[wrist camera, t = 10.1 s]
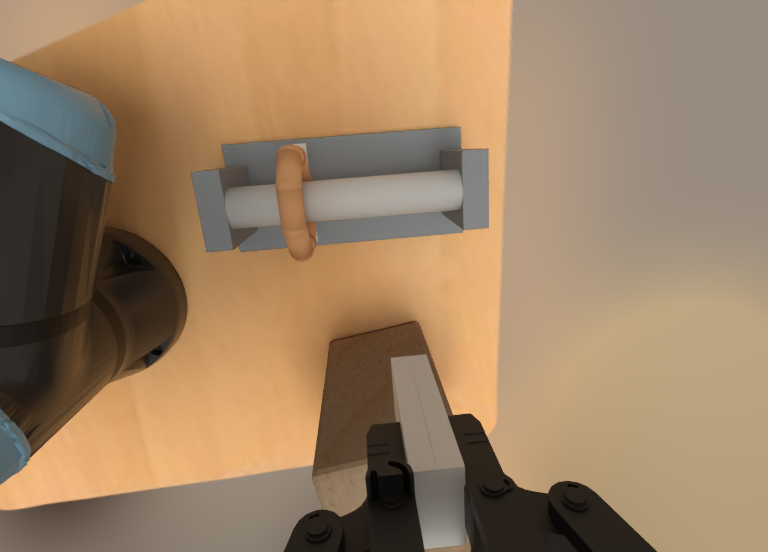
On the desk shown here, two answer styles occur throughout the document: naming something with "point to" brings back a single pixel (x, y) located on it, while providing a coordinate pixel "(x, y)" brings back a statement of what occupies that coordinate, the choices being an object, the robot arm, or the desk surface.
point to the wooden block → (361, 412)
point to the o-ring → (294, 201)
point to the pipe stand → (348, 189)
